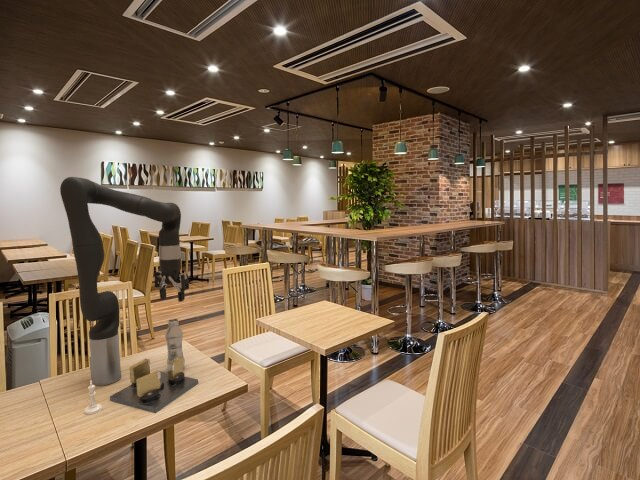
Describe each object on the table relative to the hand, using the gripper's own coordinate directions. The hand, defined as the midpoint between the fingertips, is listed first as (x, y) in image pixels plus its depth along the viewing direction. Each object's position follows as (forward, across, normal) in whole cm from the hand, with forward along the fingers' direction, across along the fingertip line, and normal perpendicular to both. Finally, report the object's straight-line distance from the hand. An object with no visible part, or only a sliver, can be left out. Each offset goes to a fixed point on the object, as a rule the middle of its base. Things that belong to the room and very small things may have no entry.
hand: (172, 300), depth 138 cm
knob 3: (+28, +6, -6) cm, 29 cm away
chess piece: (+30, -8, -28) cm, 42 cm away
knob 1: (+28, -5, -12) cm, 31 cm away
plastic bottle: (+30, -4, +4) cm, 30 cm away
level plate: (+30, +2, -12) cm, 32 cm away
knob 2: (+28, +6, -18) cm, 34 cm away
